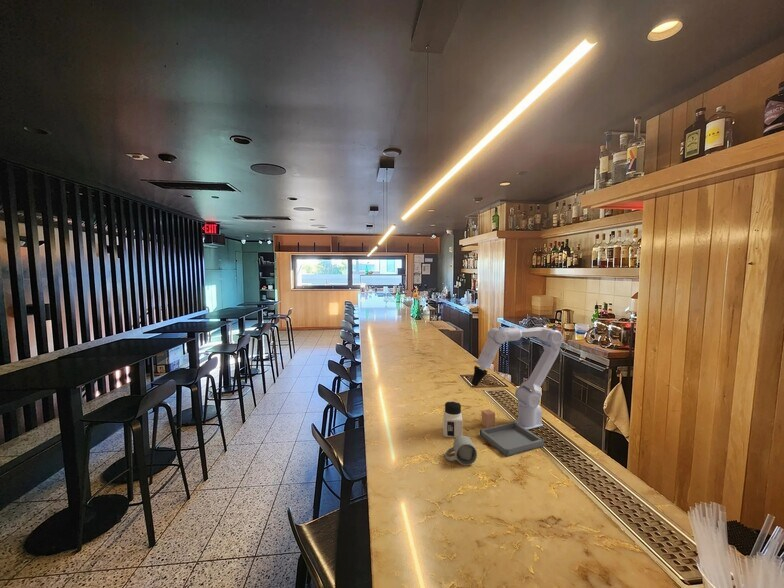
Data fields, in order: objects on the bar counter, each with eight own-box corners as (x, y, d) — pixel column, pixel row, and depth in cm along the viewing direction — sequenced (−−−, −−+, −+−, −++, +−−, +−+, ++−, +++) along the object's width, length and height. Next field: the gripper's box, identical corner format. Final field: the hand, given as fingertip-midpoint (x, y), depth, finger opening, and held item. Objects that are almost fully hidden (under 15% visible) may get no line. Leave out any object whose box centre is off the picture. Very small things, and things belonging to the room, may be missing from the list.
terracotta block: (489, 422, 140) (489, 409, 139) (494, 426, 136) (494, 413, 136) (481, 423, 138) (481, 410, 138) (487, 428, 135) (487, 414, 134)
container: (462, 438, 126) (462, 407, 126) (443, 436, 128) (443, 406, 127) (462, 429, 134) (462, 399, 133) (443, 427, 136) (443, 398, 135)
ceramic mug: (471, 452, 117) (471, 432, 116) (477, 465, 109) (477, 444, 108) (443, 452, 117) (443, 433, 117) (447, 466, 109) (446, 445, 108)
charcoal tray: (514, 427, 135) (514, 421, 135) (544, 446, 120) (544, 440, 120) (479, 435, 129) (479, 429, 128) (506, 456, 114) (506, 450, 113)
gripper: (479, 350, 139) (466, 378, 139) (478, 350, 126) (464, 381, 125) (494, 357, 137) (481, 385, 137) (495, 358, 123) (480, 389, 123)
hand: (474, 384), depth 131 cm, fingers open, 7 cm apart
